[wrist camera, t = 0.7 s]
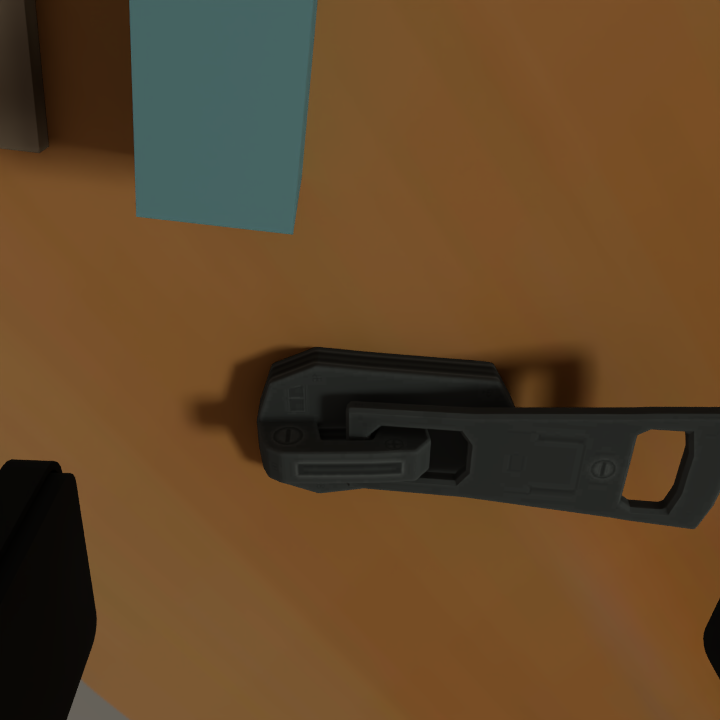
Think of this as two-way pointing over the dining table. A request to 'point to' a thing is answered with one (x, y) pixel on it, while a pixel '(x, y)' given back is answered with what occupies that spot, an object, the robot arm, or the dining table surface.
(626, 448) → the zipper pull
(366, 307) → the dining table surface
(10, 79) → the board
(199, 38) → the cabinet
